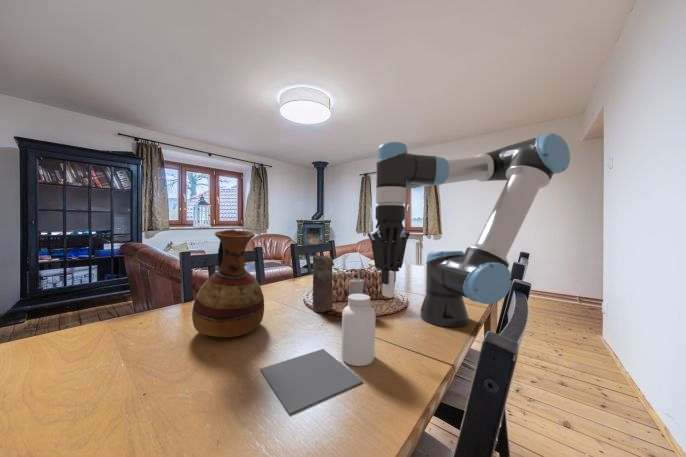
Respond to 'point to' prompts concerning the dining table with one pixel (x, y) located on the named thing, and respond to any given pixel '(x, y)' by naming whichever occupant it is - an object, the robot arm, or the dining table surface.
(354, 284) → the energy drink
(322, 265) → the candle
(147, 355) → the dining table surface
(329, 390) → the mat
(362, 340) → the pill bottle
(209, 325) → the ceramic pitcher
